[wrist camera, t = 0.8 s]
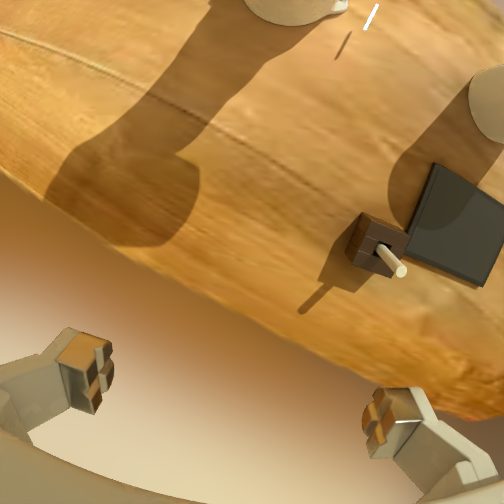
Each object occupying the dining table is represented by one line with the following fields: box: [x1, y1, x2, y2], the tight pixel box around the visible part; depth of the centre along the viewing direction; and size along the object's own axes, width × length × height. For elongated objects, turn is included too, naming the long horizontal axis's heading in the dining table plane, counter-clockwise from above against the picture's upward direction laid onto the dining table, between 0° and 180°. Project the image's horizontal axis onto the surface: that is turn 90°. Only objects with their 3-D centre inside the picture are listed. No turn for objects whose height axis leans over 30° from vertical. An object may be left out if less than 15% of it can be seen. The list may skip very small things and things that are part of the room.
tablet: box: [403, 162, 504, 287], centre depth 48 cm, size 16×22×1 cm
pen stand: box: [345, 212, 411, 278], centre depth 47 cm, size 7×7×5 cm
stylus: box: [374, 240, 407, 277], centre depth 44 cm, size 2×2×13 cm
